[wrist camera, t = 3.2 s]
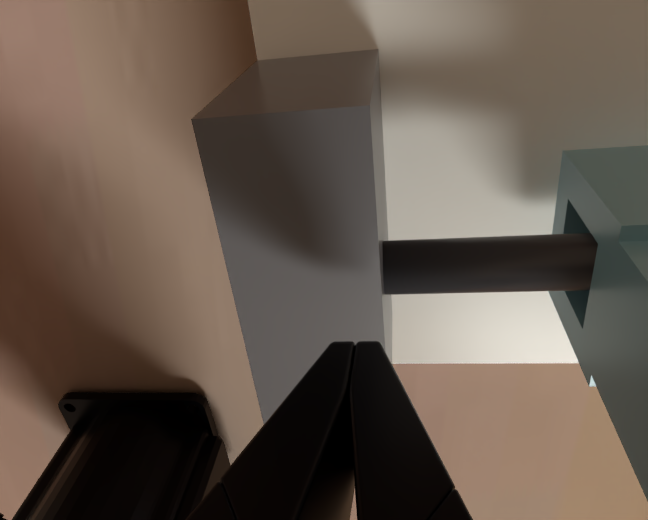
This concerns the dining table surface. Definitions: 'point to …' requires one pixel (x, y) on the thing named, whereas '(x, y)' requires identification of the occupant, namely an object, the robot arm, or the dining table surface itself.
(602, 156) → the sleeve
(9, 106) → the dining table surface
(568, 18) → the cable board
